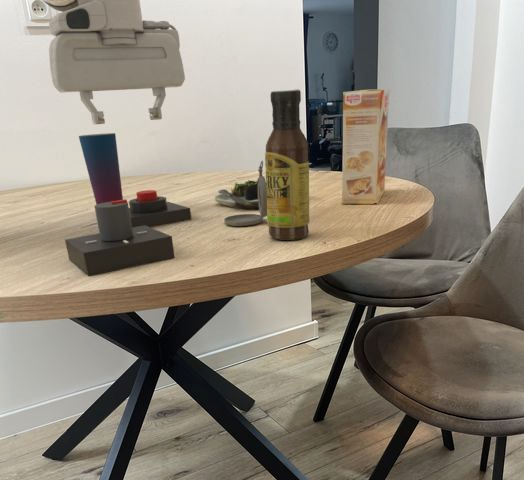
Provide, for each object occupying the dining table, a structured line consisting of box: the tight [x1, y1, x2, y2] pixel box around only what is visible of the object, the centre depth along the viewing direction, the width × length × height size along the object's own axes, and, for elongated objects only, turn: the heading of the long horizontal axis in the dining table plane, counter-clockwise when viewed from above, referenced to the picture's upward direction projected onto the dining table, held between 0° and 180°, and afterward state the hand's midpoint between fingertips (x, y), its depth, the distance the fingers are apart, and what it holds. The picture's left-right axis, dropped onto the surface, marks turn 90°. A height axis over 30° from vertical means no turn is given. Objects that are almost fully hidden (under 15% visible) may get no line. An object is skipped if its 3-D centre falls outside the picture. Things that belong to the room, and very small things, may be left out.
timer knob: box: [93, 198, 133, 241], centre depth 69 cm, size 4×4×5 cm
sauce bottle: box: [264, 88, 310, 241], centre depth 73 cm, size 6×6×20 cm
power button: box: [136, 189, 158, 202], centre depth 93 cm, size 4×4×2 cm
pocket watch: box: [223, 160, 267, 227], centre depth 86 cm, size 8×8×10 cm
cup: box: [78, 132, 124, 205], centre depth 101 cm, size 7×7×15 cm
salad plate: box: [214, 179, 259, 211], centre depth 106 cm, size 19×18×5 cm
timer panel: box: [64, 225, 175, 277], centre depth 71 cm, size 12×10×3 cm
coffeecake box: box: [341, 88, 390, 205], centre depth 99 cm, size 15×7×20 cm, turn 162°
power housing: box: [128, 195, 192, 228], centre depth 94 cm, size 12×10×4 cm
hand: (128, 121), depth 82 cm, fingers open, 8 cm apart
